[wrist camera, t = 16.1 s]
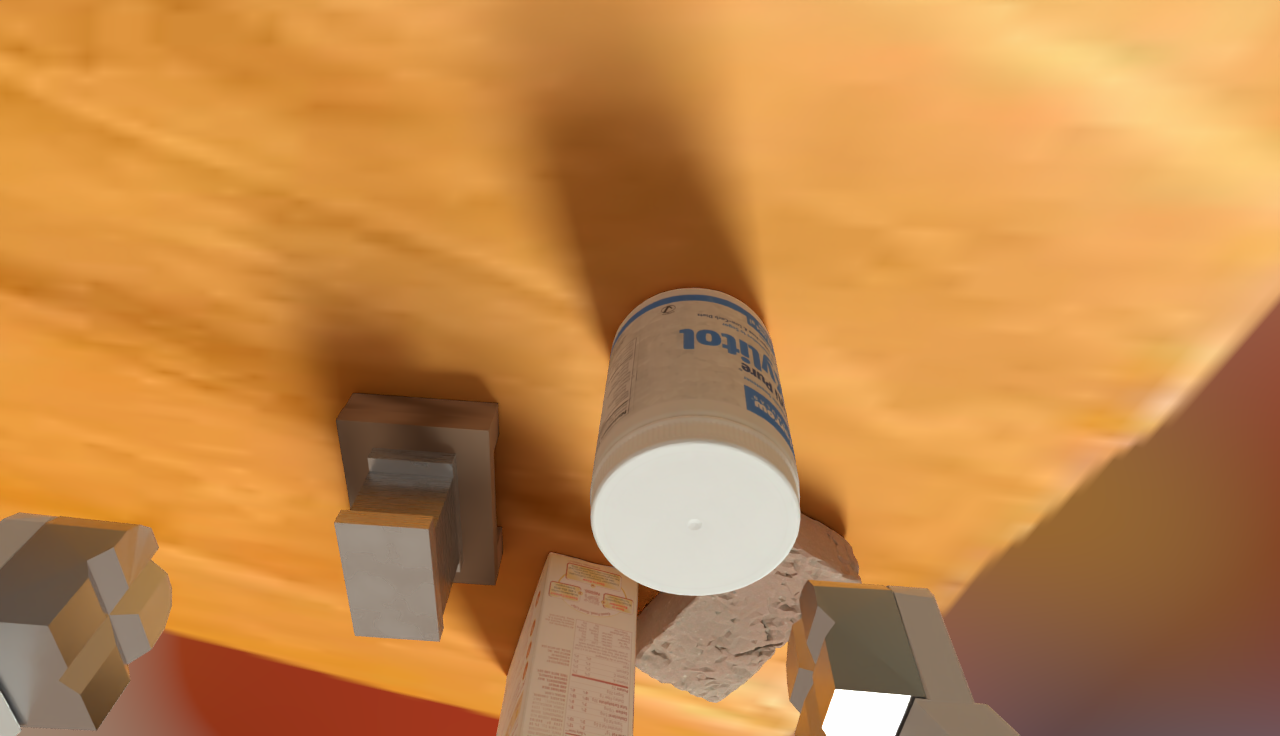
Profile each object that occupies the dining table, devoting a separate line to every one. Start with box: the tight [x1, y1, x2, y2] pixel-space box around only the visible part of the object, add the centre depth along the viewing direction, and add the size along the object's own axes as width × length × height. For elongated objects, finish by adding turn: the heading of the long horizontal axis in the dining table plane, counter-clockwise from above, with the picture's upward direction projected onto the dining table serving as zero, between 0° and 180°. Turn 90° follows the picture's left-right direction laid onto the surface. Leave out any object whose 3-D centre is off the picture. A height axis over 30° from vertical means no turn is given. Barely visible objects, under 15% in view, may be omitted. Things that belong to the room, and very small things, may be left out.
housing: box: [334, 448, 464, 642], centre depth 47 cm, size 9×5×6 cm, turn 176°
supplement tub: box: [590, 288, 800, 596], centre depth 41 cm, size 10×10×15 cm
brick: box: [635, 512, 862, 703], centre depth 55 cm, size 17×8×5 cm, turn 147°
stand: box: [336, 393, 503, 585], centre depth 51 cm, size 9×13×3 cm
